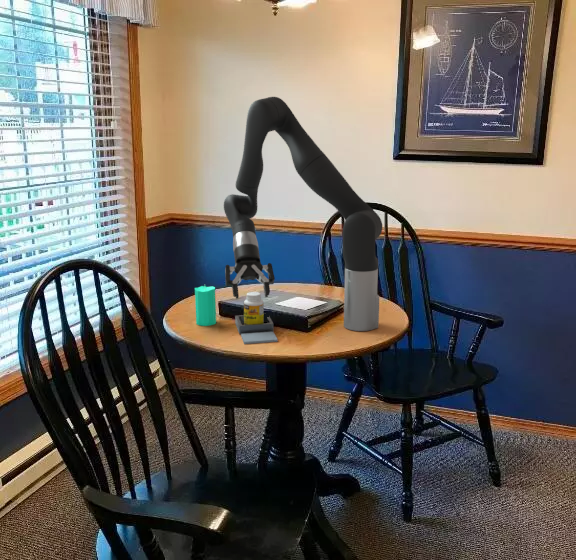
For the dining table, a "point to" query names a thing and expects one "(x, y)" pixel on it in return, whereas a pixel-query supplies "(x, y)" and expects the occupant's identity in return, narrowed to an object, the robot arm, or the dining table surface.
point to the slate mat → (259, 337)
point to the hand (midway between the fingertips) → (252, 296)
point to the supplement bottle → (253, 309)
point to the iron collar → (253, 326)
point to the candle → (205, 306)
